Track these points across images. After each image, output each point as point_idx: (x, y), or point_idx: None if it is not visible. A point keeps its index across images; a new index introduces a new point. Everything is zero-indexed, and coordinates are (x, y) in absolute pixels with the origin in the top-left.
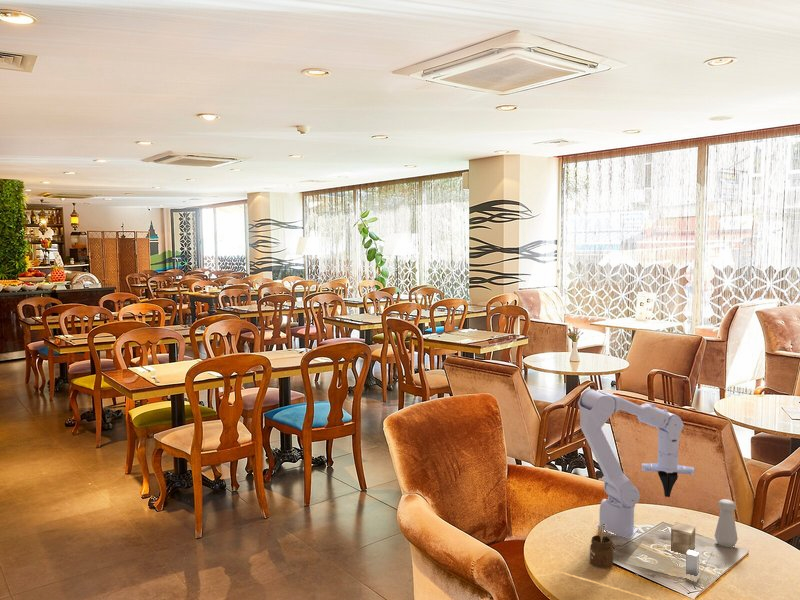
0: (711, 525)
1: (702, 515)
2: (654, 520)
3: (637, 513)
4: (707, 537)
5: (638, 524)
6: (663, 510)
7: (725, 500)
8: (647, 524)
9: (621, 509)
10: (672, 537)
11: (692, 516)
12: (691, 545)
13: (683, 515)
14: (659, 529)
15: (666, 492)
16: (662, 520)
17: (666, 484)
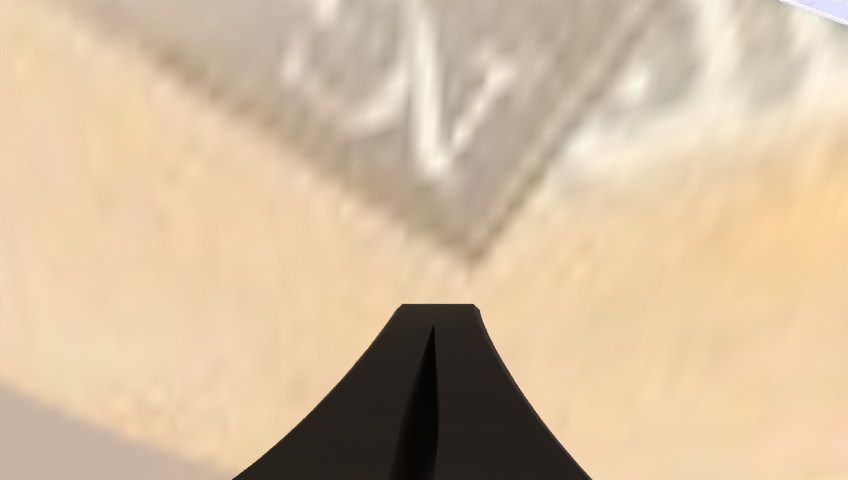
0: (108, 284)
1: (184, 431)
2: (541, 270)
3: (660, 370)
4: (105, 23)
5: (708, 148)
6: None
7: None
8: (619, 170)
9: None
10: None
11: (248, 403)
12: None
13: (310, 406)
14: (524, 84)
15: (457, 338)
16: (473, 286)
17: (463, 463)
